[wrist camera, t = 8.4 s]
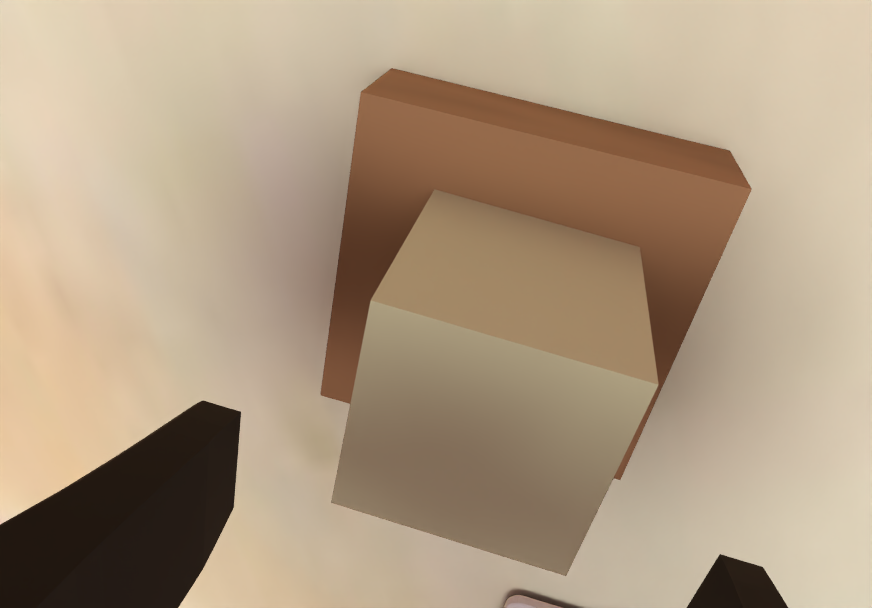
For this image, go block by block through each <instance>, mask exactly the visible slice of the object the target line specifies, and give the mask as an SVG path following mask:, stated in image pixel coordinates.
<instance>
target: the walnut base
mask: <svg viewBox="0 0 872 608" xmlns="http://www.w3.org/2000/svg"><path fill="white" fill-rule="evenodd" d="M434 189H435V190H439V191H442V192H446V193H449V194H453V195H456V196H460V197H464V198H467V199H471V200H474V201H478V202H481V203H485V204H488V205H492V206H495V207H499V208H503V209H506V210H510V211H513V212H517V213H520V214H524V215H527V216H531V217H535V218H538V219H542V220H545V221H549V222H552V223H556V224H559V225H563V226H566V227H570V228H574V229H577V230H581V231H584V232H588V233H591V234H595V235H598V236H602V237H605V238H609V239H613V240H616V241H620V242H623V243H627V244H630V245H634V246H637V247H640V252H641V260H642V267H643V274H644V282H645V289H646V296H647V304H648V311H649V318H650V326H651V333H652V340H653V348H654V355H655V362H656V369H657V377H658V384H659V385H658V387H657V389H656V391H655V393H654V395H653V397H652V399H651V401H650V404H649V406H648V408H647V410H646V412H645V414H644V416H643V418H642V420H641V422H640V424H639V426H638V428H637V430H636V432H635V435H634V437H633V439H632V441H631V443H630V445H629V447H628V449H627V451H626V453H625V455H624V457H623V459H622V461H621V463H620V465H619V468H618V470H617V472H616V474H615V476H614V478H615V479H619V480H620V479H621V477H622V475H623V472H624V470H625V468H626V466H627V464H628V461H629V459H630V457H631V455H632V453H633V450H634V448H635V446H636V444H637V442H638V439H639V437H640V435H641V433H642V430H643V428H644V426H645V424H646V422H647V419H648V417H649V415H650V413H651V411H652V408H653V406H654V404H655V402H656V399H657V397H658V395H659V393H660V391H661V388H662V386H663V384H664V382H665V380H666V377H667V375H668V373H669V371H670V369H671V366H672V364H673V362H674V360H675V357H676V355H677V353H678V351H679V349H680V346H681V344H682V342H683V340H684V338H685V335H686V333H687V331H688V329H689V327H690V324H691V322H692V320H693V318H694V315H695V313H696V311H697V309H698V307H699V304H700V302H701V300H702V298H703V296H704V293H705V291H706V289H707V287H708V284H709V282H710V280H711V278H712V276H713V273H714V271H715V269H716V267H717V265H718V262H719V260H720V258H721V256H722V254H723V251H724V249H725V247H726V245H727V242H728V240H729V238H730V236H731V234H732V231H733V229H734V227H735V225H736V223H737V220H738V218H739V216H740V214H741V212H742V209H743V207H744V205H745V203H746V200H747V198H748V196H749V194H750V192H751V187H750V185H749V184H748V182H747V180H746V178H745V177H744V175H743V173H742V171H741V170H740V168H739V166H738V164H737V163H736V161H735V159H734V157H733V156H732V154H731V152H730V151H728V150H724V149H720V148H716V147H712V146H708V145H704V144H700V143H696V142H692V141H687V140H683V139H679V138H675V137H671V136H667V135H663V134H659V133H655V132H651V131H646V130H642V129H638V128H634V127H630V126H626V125H622V124H618V123H614V122H610V121H606V120H601V119H597V118H593V117H589V116H585V115H581V114H577V113H573V112H569V111H565V110H560V109H556V108H552V107H548V106H544V105H540V104H536V103H532V102H528V101H524V100H520V99H515V98H511V97H507V96H503V95H499V94H495V93H491V92H487V91H483V90H479V89H474V88H470V87H466V86H462V85H458V84H454V83H450V82H446V81H442V80H438V79H434V78H429V77H425V76H421V75H417V74H413V73H409V72H405V71H401V70H397V69H393V68H392V69H390V70H389V71H388V72H387V73H385V74H384V75H383V76H381V77H380V78H379V79H377V80H376V81H375V82H373V83H372V84H371V85H370V86H368V87H367V88H366V89H364V90H363V91H362V92H361V95H360V103H359V110H358V118H357V125H356V133H355V140H354V148H353V155H352V163H351V170H350V178H349V185H348V193H347V200H346V208H345V215H344V223H343V230H342V238H341V245H340V253H339V260H338V268H337V275H336V283H335V290H334V298H333V305H332V313H331V320H330V328H329V335H328V343H327V350H326V358H325V365H324V373H323V380H322V388H321V395H322V396H325V397H329V398H332V399H336V400H339V401H343V402H346V403H351V398H352V393H353V388H354V383H355V378H356V373H357V368H358V362H359V357H360V352H361V347H362V342H363V337H364V332H365V327H366V321H367V316H368V311H369V306H370V301H371V299H372V297H373V295H374V294H375V292H376V290H377V288H378V287H379V285H380V283H381V281H382V280H383V278H384V276H385V274H386V273H387V271H388V269H389V268H390V266H391V264H392V262H393V261H394V259H395V257H396V255H397V254H398V252H399V250H400V248H401V247H402V245H403V243H404V241H405V240H406V238H407V236H408V235H409V233H410V231H411V229H412V228H413V226H414V224H415V222H416V221H417V219H418V217H419V215H420V214H421V212H422V210H423V209H424V207H425V205H426V203H427V202H428V200H429V198H430V196H431V195H432V193H433V191H434Z"/></svg>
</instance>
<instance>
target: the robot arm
mask: <svg viewBox="0 0 872 608" xmlns="http://www.w3.org/2000/svg"><path fill="white" fill-rule="evenodd" d="M240 418H241V412H240V411H236V410H233V409H229V408H226V407H223V406H219V405H216V404H213V403H209V402H206V401H201V402H199V403H197V404H195V405H194V406H192V407H191V408H189V409H187V410H186V411H184V412H183V413H181V414H180V415H178V416H177V417H175V418H174V419H172V420H171V421H169V422H168V423H166V424H165V425H163V426H162V427H160V428H159V429H157V430H156V431H154V432H153V433H151V434H150V435H148V436H147V437H145V438H144V439H142V440H141V441H139V442H138V443H136V444H135V445H133V446H131V447H130V448H128V449H127V450H125V451H124V452H122V453H121V454H119V455H118V456H116V457H114V458H113V459H111V460H109V461H108V462H106V463H105V464H103V465H101V466H100V467H98V468H97V469H95V470H93V471H92V472H90V473H88V474H87V475H85V476H84V477H82V478H80V479H79V480H77V481H76V482H74V483H72V484H71V485H69V486H67V487H66V488H64V489H62V490H61V491H59V492H57V493H56V494H54V495H52V496H50V497H48V498H47V499H45V500H43V501H41V502H40V503H38V504H36V505H34V506H32V507H31V508H29V509H27V510H25V511H24V512H22V513H20V514H18V515H16V516H15V517H13V518H11V519H9V520H8V521H6V522H4V523H2V524H1V525H0V608H178V607H179V606H180V604H181V602H182V601H183V599H184V598H185V596H186V595H187V593H188V592H189V590H190V588H191V587H192V585H193V584H194V582H195V581H196V579H197V577H198V576H199V574H200V573H201V571H202V570H203V568H204V566H205V564H206V562H207V560H208V558H209V556H210V554H211V552H212V550H213V548H214V546H215V544H216V542H217V540H218V538H219V536H220V534H221V532H222V530H223V528H224V526H225V524H226V522H227V520H228V518H229V516H230V514H231V512H232V510H233V508H234V496H235V483H236V470H237V457H238V444H239V431H240ZM504 608H562V607H559V606H555V605H552V604H549V603H546V602H542V601H539V600H536V599H532V598H529V597H526V596H522V595H514V596H511V597H509V598H508V599H507V601H506V603H505V605H504ZM687 608H788V607H787V605H786V603H785V602H784V600H783V598H782V597H781V595H780V594H779V592H778V590H777V589H776V587H775V586H774V584H773V582H772V581H771V579H770V578H769V576H768V575H767V573H766V571H765V570H764V568H763V567H761V566H757V565H754V564H751V563H747V562H744V561H741V560H737V559H734V558H731V557H727V556H724V555H719V557H718V558H717V560H716V561H715V563H714V565H713V566H712V568H711V569H710V571H709V573H708V574H707V576H706V578H705V579H704V581H703V582H702V584H701V586H700V587H699V589H698V590H697V592H696V594H695V595H694V597H693V599H692V600H691V602H690V603H689V605H688V607H687Z"/></svg>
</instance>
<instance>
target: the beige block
mask: <svg viewBox="0 0 872 608" xmlns="http://www.w3.org/2000/svg"><path fill="white" fill-rule="evenodd" d="M658 385H659V384H658V377H657V369H656V362H655V355H654V348H653V340H652V333H651V326H650V318H649V311H648V304H647V296H646V289H645V282H644V274H643V267H642V260H641V252H640V247H637V246H634V245H630V244H627V243H623V242H620V241H616V240H613V239H609V238H605V237H602V236H598V235H595V234H591V233H588V232H584V231H581V230H577V229H574V228H570V227H566V226H563V225H559V224H556V223H552V222H549V221H545V220H542V219H538V218H535V217H531V216H527V215H524V214H520V213H517V212H513V211H510V210H506V209H503V208H499V207H495V206H492V205H488V204H485V203H481V202H478V201H474V200H471V199H467V198H464V197H460V196H456V195H453V194H449V193H446V192H442V191H439V190H435V189H434V191H433V193H432V195H431V196H430V198H429V200H428V202H427V203H426V205H425V207H424V209H423V210H422V212H421V214H420V215H419V217H418V219H417V221H416V222H415V224H414V226H413V228H412V229H411V231H410V233H409V235H408V236H407V238H406V240H405V241H404V243H403V245H402V247H401V248H400V250H399V252H398V254H397V255H396V257H395V259H394V261H393V262H392V264H391V266H390V268H389V269H388V271H387V273H386V274H385V276H384V278H383V280H382V281H381V283H380V285H379V287H378V288H377V290H376V292H375V294H374V295H373V297H372V299H371V301H370V306H369V311H368V316H367V321H366V327H365V332H364V337H363V342H362V347H361V352H360V357H359V362H358V368H357V373H356V378H355V383H354V388H353V393H352V398H351V403H350V409H349V414H348V419H347V424H346V429H345V434H344V439H343V444H342V450H341V455H340V460H339V465H338V470H337V475H336V480H335V485H334V491H333V496H332V501H331V503H334V504H338V505H341V506H344V507H347V508H350V509H354V510H357V511H360V512H363V513H366V514H370V515H373V516H376V517H379V518H382V519H386V520H389V521H392V522H395V523H398V524H402V525H405V526H408V527H411V528H414V529H417V530H421V531H424V532H427V533H430V534H433V535H437V536H440V537H443V538H446V539H449V540H453V541H456V542H459V543H462V544H465V545H469V546H472V547H475V548H478V549H481V550H485V551H488V552H491V553H494V554H497V555H501V556H504V557H507V558H510V559H513V560H517V561H520V562H523V563H526V564H529V565H533V566H536V567H539V568H542V569H545V570H549V571H552V572H555V573H558V574H561V575H565V576H566V575H567V573H568V571H569V569H570V567H571V565H572V563H573V561H574V558H575V556H576V554H577V552H578V550H579V548H580V546H581V544H582V542H583V540H584V538H585V536H586V534H587V532H588V530H589V527H590V525H591V523H592V521H593V519H594V517H595V515H596V513H597V511H598V509H599V507H600V505H601V503H602V501H603V499H604V496H605V494H606V492H607V490H608V488H609V486H610V484H611V482H612V480H613V478H614V476H615V474H616V472H617V470H618V468H619V465H620V463H621V461H622V459H623V457H624V455H625V453H626V451H627V449H628V447H629V445H630V443H631V441H632V439H633V437H634V435H635V432H636V430H637V428H638V426H639V424H640V422H641V420H642V418H643V416H644V414H645V412H646V410H647V408H648V406H649V404H650V401H651V399H652V397H653V395H654V393H655V391H656V389H657V387H658Z"/></svg>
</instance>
